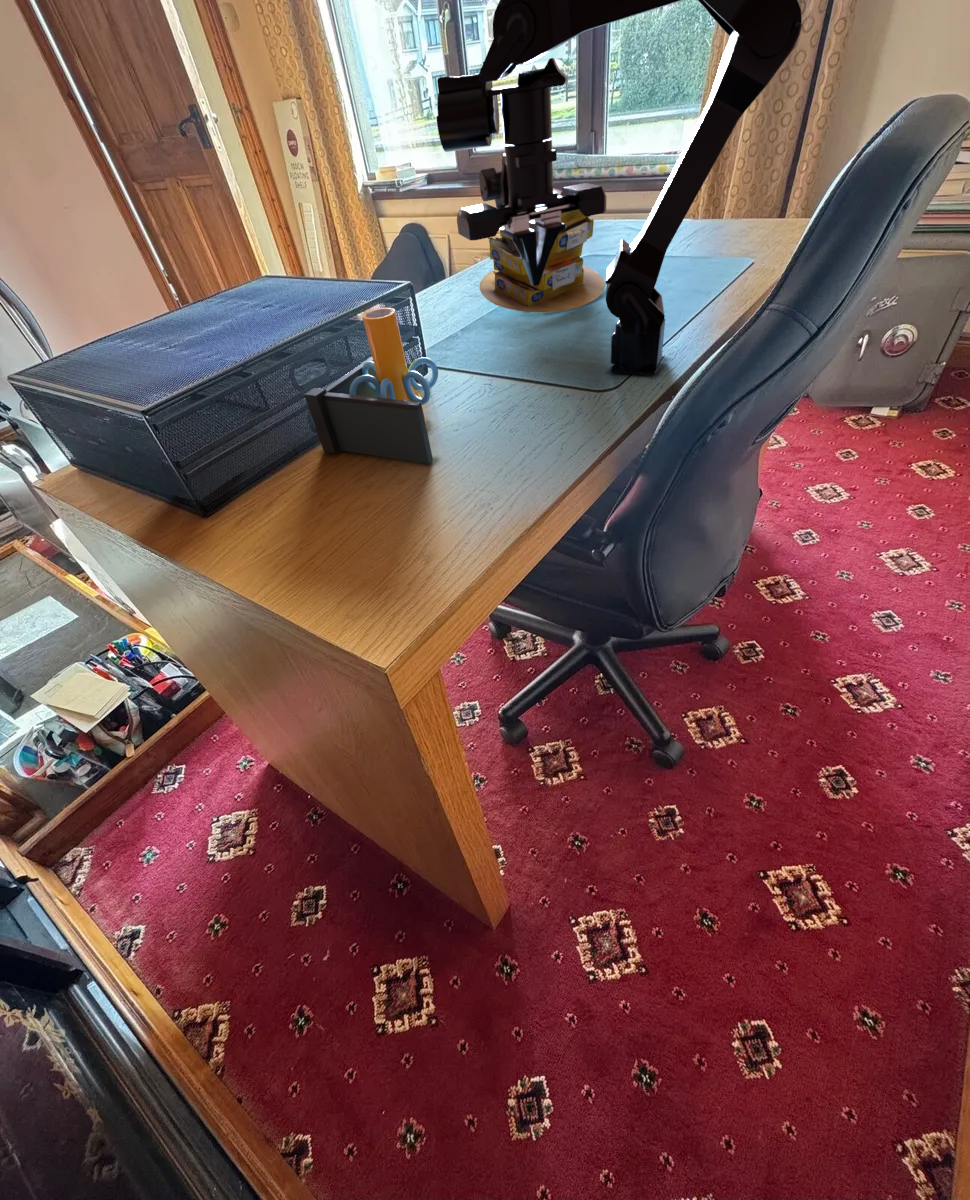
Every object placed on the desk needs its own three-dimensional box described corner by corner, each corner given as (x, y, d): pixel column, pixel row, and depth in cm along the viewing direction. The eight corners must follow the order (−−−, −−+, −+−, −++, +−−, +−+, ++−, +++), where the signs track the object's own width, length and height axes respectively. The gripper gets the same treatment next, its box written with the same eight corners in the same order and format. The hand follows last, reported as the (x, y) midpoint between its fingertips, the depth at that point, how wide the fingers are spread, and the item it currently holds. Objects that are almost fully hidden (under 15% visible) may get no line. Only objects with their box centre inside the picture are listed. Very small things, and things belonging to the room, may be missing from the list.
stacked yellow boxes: (630, 291, 109) (636, 185, 97) (518, 325, 102) (511, 216, 91) (561, 269, 125) (559, 176, 114) (461, 296, 119) (449, 202, 108)
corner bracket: (485, 406, 80) (478, 348, 74) (425, 468, 69) (411, 406, 64) (391, 397, 86) (379, 343, 80) (323, 452, 75) (303, 394, 70)
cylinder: (435, 450, 72) (412, 327, 62) (358, 454, 74) (322, 335, 63) (448, 407, 81) (430, 293, 71) (379, 411, 82) (350, 301, 72)
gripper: (570, 126, 75) (571, 259, 85) (436, 151, 72) (455, 286, 82) (610, 129, 67) (606, 275, 77) (462, 157, 64) (479, 305, 74)
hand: (535, 284), depth 78 cm, fingers closed
